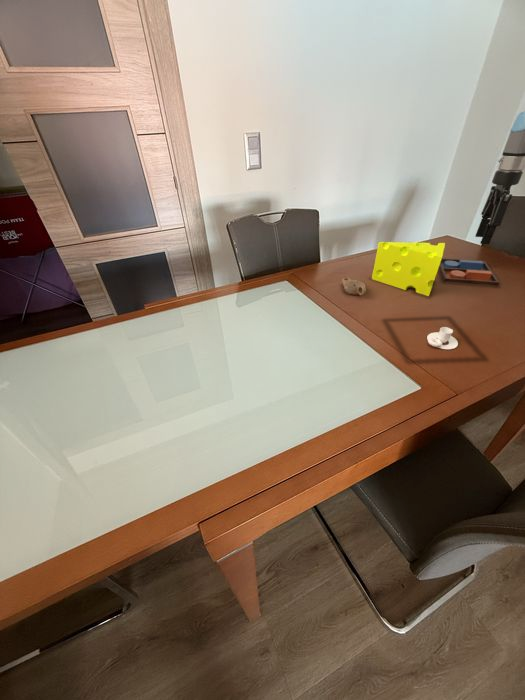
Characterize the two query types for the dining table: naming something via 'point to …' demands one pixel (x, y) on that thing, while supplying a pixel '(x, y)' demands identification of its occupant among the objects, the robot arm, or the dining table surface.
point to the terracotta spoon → (471, 274)
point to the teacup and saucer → (442, 339)
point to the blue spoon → (464, 264)
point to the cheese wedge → (408, 265)
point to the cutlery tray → (447, 278)
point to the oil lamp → (354, 286)
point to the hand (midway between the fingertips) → (481, 240)
